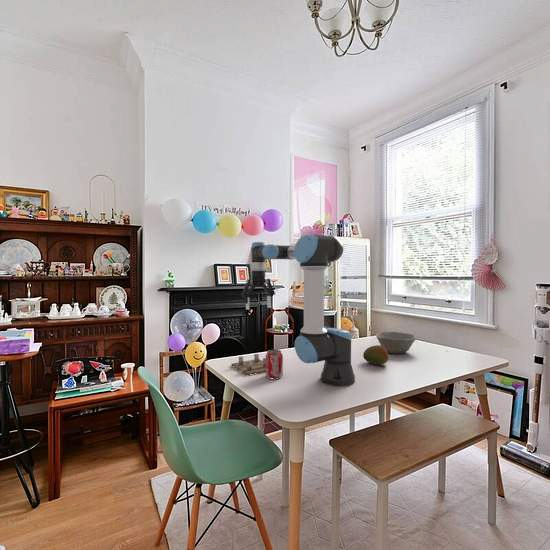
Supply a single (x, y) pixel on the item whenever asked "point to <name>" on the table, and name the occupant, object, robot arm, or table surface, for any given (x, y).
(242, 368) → the peg board
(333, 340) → the robot arm
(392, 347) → the ceramic bowl
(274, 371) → the beverage can
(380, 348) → the fruit
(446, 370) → the table surface
